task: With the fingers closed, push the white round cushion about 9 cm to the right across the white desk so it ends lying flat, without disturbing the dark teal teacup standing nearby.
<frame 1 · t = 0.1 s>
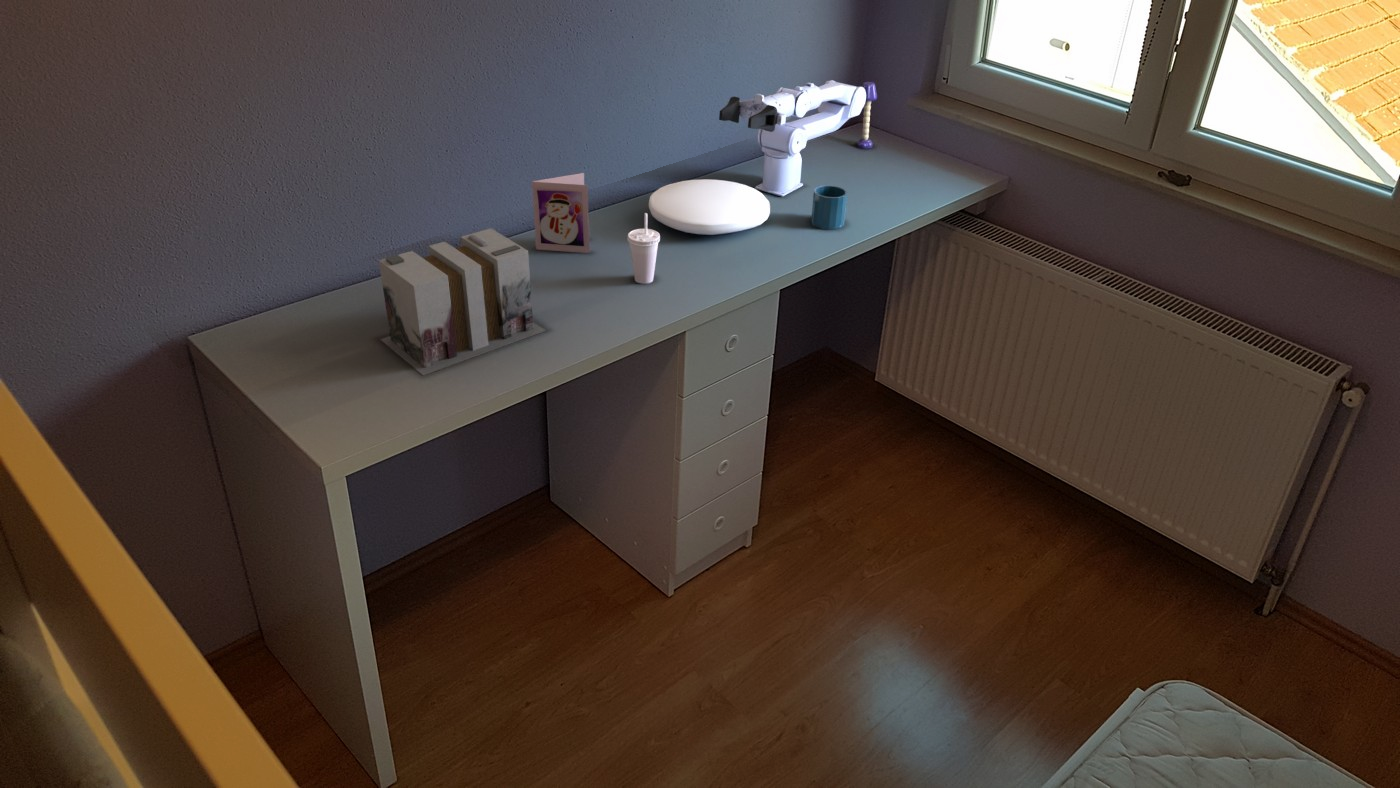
hand: (734, 119, 232), 22 cm above the table, tool horizontal, fingers open, 7 cm apart
white round cushion: (709, 219, 241), on the table
greeting card: (565, 246, 227), on the table
toy lamp: (863, 146, 284), on the table
teacup: (827, 223, 240), on the table
model building: (464, 336, 194), on the table
smoothie: (644, 280, 214), on the table
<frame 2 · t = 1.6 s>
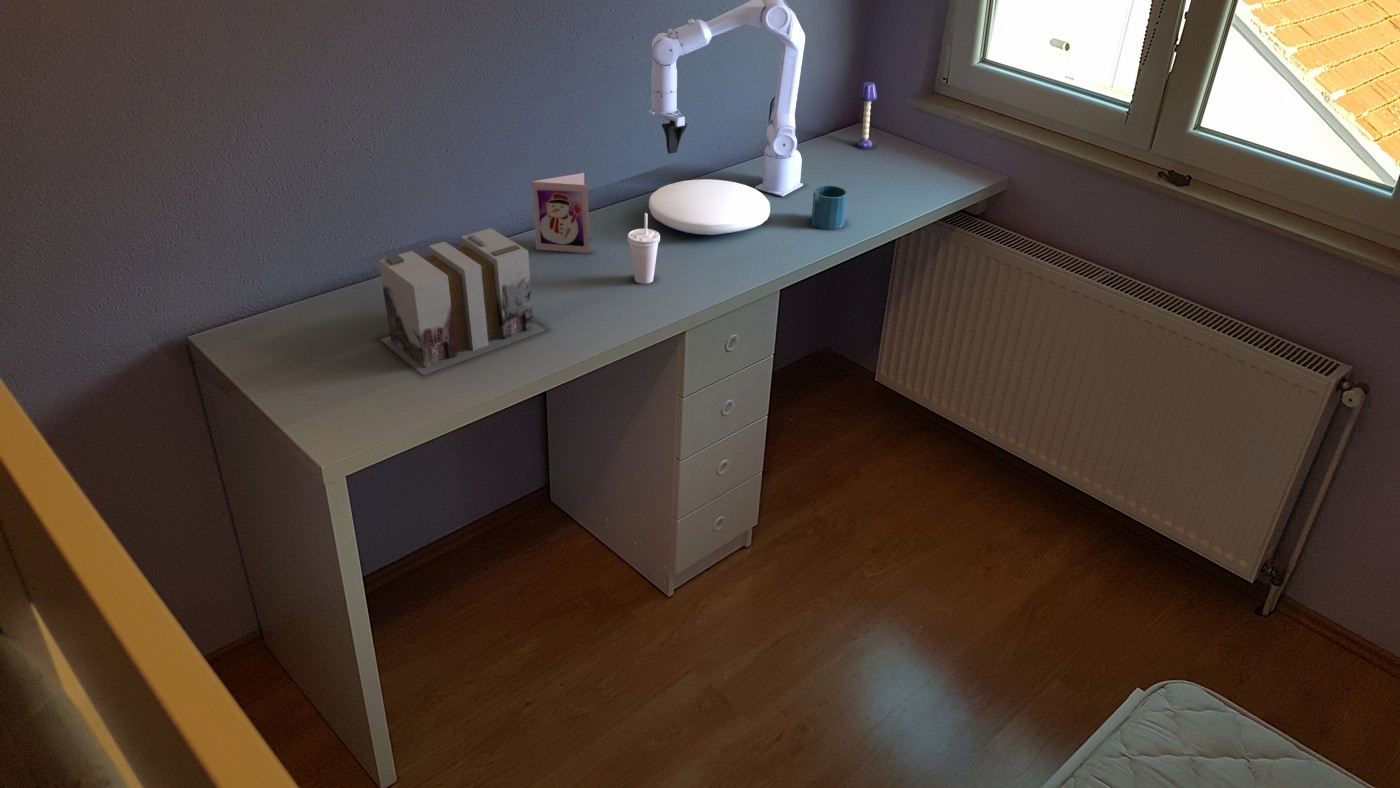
hand: (663, 147, 249), 10 cm above the table, tool pointing down, fingers open, 7 cm apart
nothing on the table moved.
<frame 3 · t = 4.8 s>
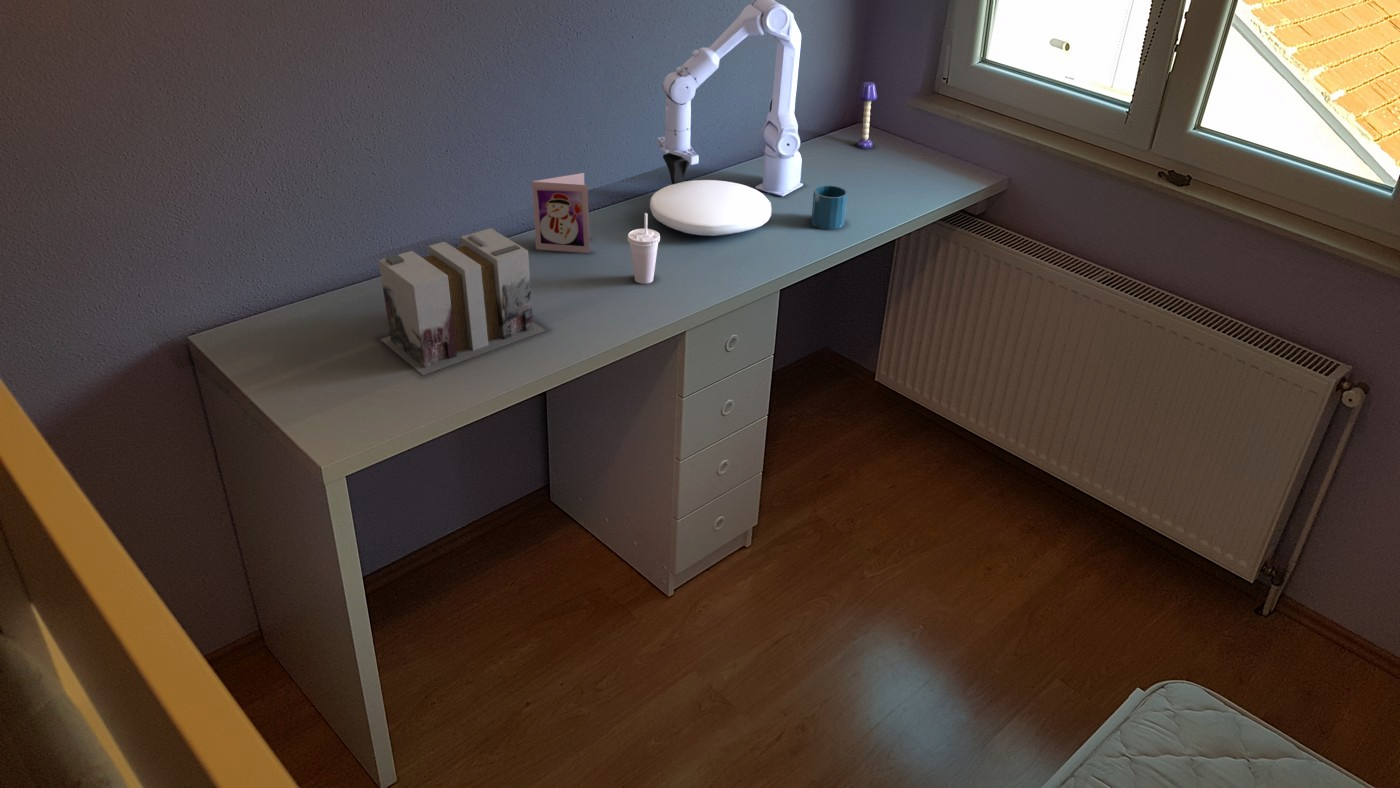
hand: (677, 184, 248), 3 cm above the table, tool pointing down, fingers closed
white round cushion: (710, 220, 240), on the table, touching gripper
everything else where it was.
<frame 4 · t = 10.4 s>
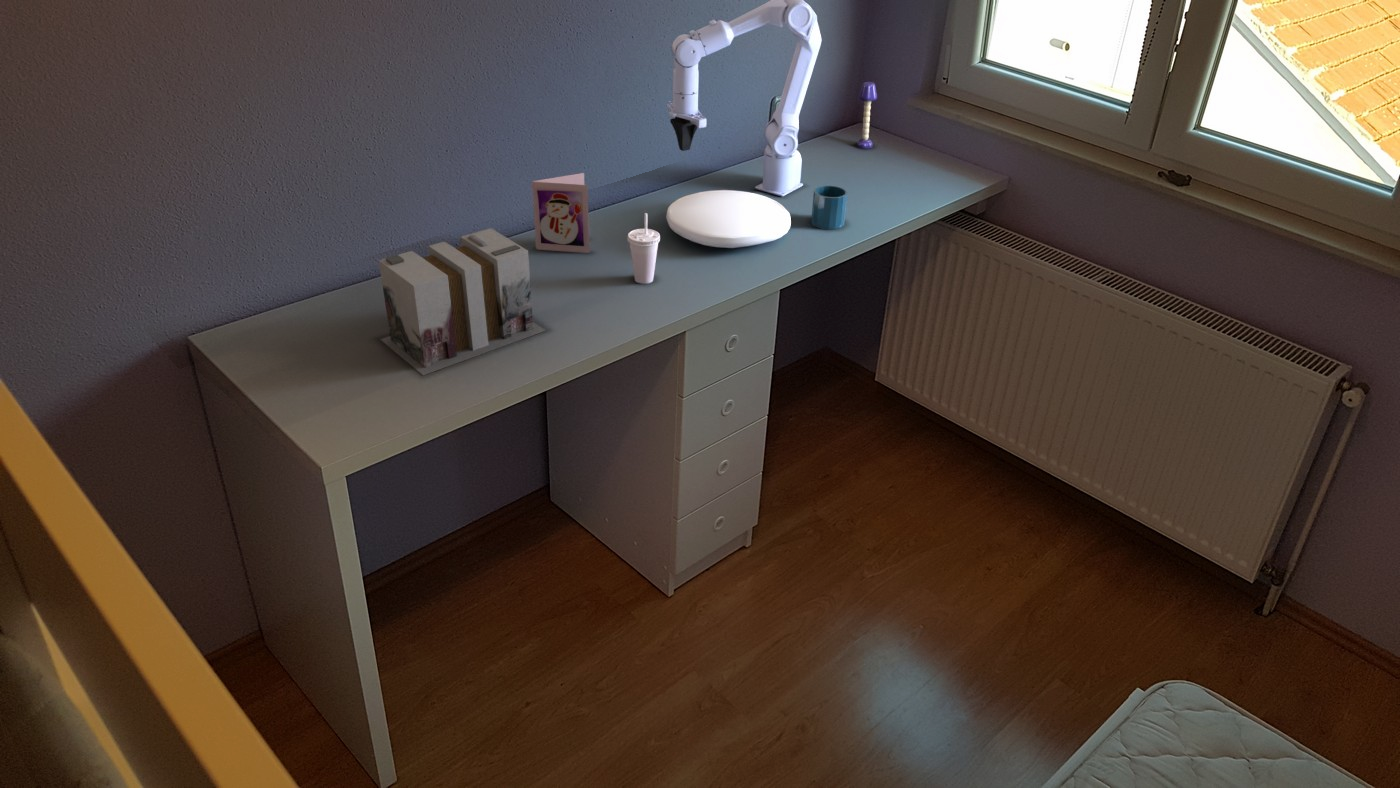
hand: (684, 149, 248), 10 cm above the table, tool pointing down, fingers closed
white round cushion: (728, 231, 235), on the table
everything else where it was.
at the end: white round cushion inside the target area (1.5 cm from its centre), on the table; white round cushion tilted 0°; teacup moved 0.0 cm from its start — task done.
